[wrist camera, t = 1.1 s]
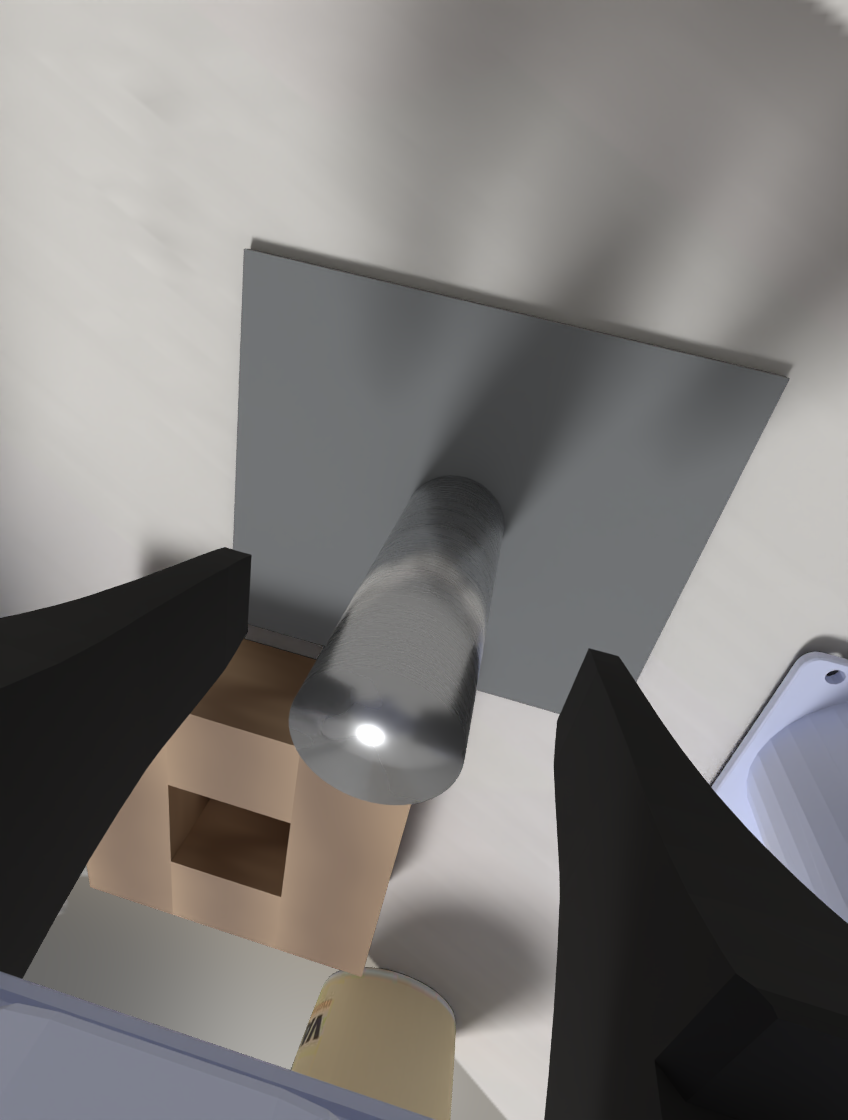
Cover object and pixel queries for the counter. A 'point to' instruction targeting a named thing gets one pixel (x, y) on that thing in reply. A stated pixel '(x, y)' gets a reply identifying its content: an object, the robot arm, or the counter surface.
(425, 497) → the peg
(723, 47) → the counter surface
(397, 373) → the mat
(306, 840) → the hole block
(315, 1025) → the coffee cup
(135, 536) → the counter surface
